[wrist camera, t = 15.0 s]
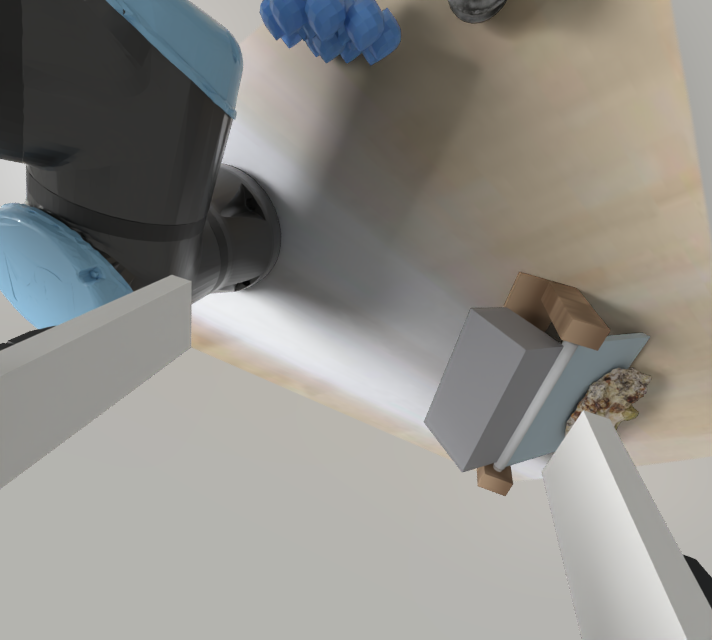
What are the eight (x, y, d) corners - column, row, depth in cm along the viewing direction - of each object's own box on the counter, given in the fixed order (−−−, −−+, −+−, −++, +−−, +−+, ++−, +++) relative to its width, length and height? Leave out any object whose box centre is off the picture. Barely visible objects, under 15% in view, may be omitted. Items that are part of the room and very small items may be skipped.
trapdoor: (422, 425, 43) (464, 481, 37) (472, 303, 35) (535, 350, 29) (527, 404, 51) (575, 447, 45) (585, 301, 43) (652, 337, 38)
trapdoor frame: (452, 416, 49) (450, 476, 40) (519, 271, 39) (535, 307, 30) (497, 432, 48) (505, 496, 39) (577, 288, 38) (610, 330, 30)
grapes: (424, -4, 32) (405, -78, 21) (404, 87, 35) (379, 62, 24) (299, -25, 33) (223, -103, 23) (291, 64, 36) (221, 31, 26)
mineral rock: (633, 369, 34) (681, 394, 37) (598, 345, 38) (644, 368, 41) (557, 450, 38) (606, 466, 41) (532, 420, 42) (578, 437, 44)
